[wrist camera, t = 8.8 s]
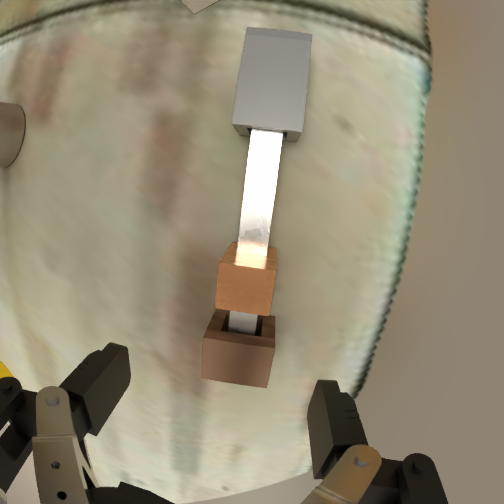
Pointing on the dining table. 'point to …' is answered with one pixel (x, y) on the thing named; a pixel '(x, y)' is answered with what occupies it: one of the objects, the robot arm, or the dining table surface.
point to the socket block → (238, 351)
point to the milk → (198, 4)
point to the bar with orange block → (252, 240)
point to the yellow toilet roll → (4, 371)
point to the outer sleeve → (273, 82)
